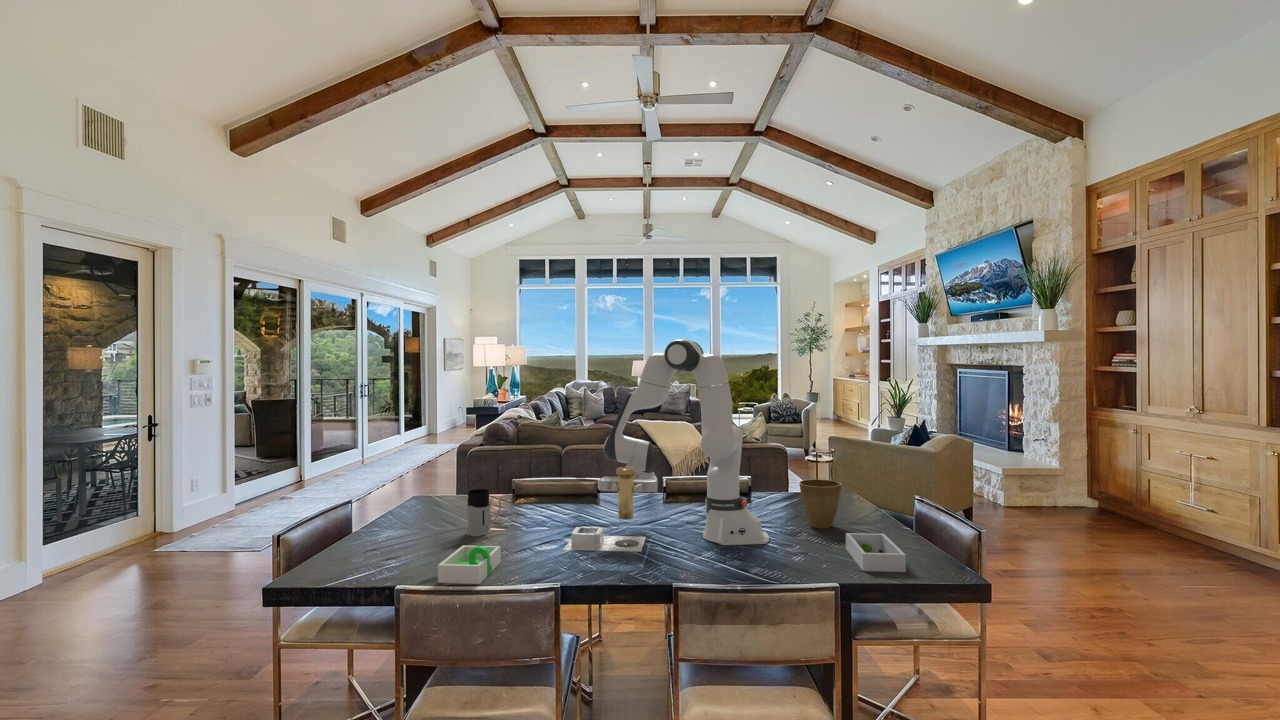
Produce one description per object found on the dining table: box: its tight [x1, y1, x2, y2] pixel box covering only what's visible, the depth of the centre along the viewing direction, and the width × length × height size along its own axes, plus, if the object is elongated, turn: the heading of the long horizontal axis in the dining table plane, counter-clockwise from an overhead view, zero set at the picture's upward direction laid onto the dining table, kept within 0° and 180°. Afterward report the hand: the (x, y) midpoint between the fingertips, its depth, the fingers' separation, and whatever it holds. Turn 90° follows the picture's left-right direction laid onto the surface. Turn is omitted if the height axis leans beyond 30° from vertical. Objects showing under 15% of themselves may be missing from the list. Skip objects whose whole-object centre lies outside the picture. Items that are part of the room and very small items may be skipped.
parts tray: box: [437, 544, 502, 585], centre depth 179 cm, size 12×18×5 cm, turn 174°
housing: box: [563, 525, 647, 553], centre depth 201 cm, size 25×16×6 cm, turn 84°
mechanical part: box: [456, 545, 493, 576], centre depth 179 cm, size 12×6×8 cm, turn 87°
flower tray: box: [845, 532, 907, 573], centre depth 186 cm, size 12×21×5 cm, turn 174°
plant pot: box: [798, 478, 842, 530], centre depth 224 cm, size 15×15×16 cm
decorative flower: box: [856, 539, 881, 553], centre depth 185 cm, size 8×6×15 cm
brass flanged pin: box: [615, 466, 636, 520], centre depth 200 cm, size 6×6×16 cm
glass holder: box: [466, 488, 502, 537], centre depth 218 cm, size 9×14×15 cm, turn 64°
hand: (625, 489), depth 199 cm, fingers closed on brass flanged pin, 5 cm apart
